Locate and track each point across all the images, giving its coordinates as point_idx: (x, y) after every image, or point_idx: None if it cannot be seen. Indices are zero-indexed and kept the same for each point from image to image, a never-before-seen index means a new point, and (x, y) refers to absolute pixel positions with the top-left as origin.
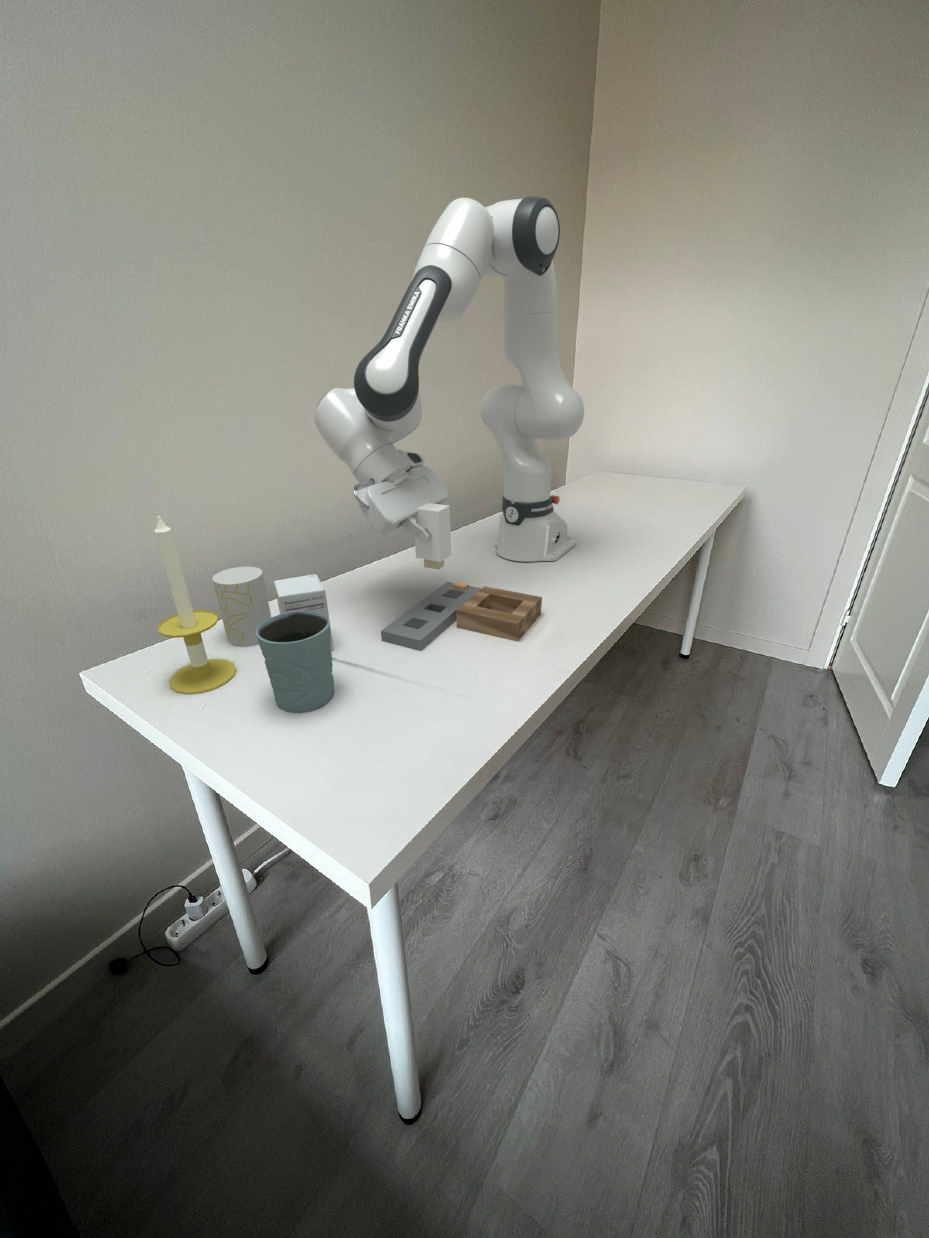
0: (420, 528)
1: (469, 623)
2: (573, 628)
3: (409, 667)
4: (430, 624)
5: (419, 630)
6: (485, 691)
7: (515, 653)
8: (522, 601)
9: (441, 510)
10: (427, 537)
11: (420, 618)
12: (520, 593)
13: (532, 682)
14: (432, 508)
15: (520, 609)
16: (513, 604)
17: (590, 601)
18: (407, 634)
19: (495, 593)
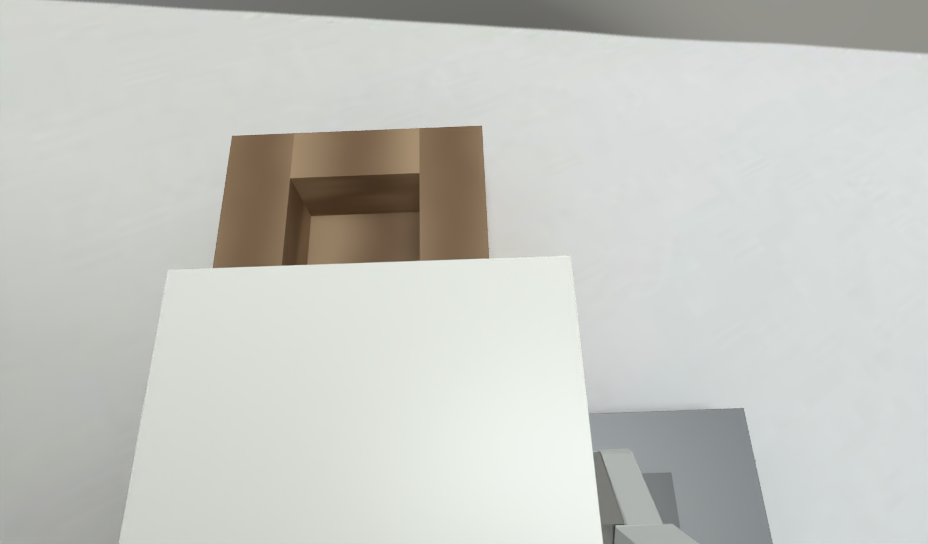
0: (684, 539)
1: None
2: (296, 85)
3: (800, 413)
4: (607, 448)
5: (677, 461)
6: (747, 153)
7: (522, 165)
8: (291, 185)
9: (463, 261)
10: (629, 452)
11: None
12: (226, 213)
13: (634, 78)
14: (455, 449)
15: (371, 159)
16: (294, 229)
17: (80, 98)
18: (738, 488)
19: None
